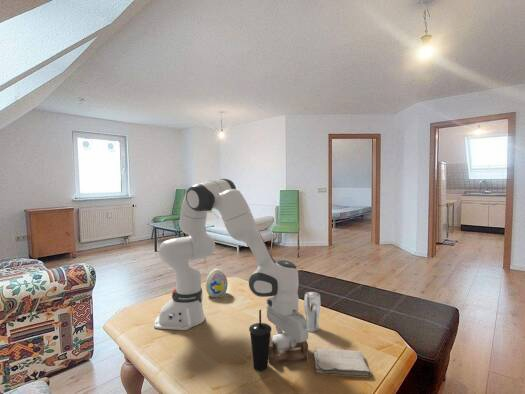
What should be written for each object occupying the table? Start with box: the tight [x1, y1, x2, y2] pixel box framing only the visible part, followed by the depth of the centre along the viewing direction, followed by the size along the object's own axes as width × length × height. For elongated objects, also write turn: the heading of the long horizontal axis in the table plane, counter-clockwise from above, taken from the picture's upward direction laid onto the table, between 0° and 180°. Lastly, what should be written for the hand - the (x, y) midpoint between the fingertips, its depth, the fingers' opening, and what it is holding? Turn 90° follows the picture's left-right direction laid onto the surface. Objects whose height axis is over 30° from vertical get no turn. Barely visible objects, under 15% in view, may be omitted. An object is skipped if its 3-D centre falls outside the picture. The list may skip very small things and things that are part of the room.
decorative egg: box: [205, 268, 229, 299], centre depth 157 cm, size 12×12×15 cm
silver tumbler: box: [303, 291, 321, 333], centre depth 120 cm, size 7×7×15 cm
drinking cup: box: [248, 309, 272, 372], centre depth 95 cm, size 8×8×20 cm
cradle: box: [268, 332, 309, 364], centre depth 102 cm, size 14×9×6 cm, turn 94°
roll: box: [272, 332, 300, 351], centre depth 102 cm, size 9×5×5 cm
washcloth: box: [313, 347, 372, 378], centre depth 96 cm, size 12×18×3 cm, turn 85°
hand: (286, 341), depth 102 cm, fingers closed on roll, 5 cm apart
